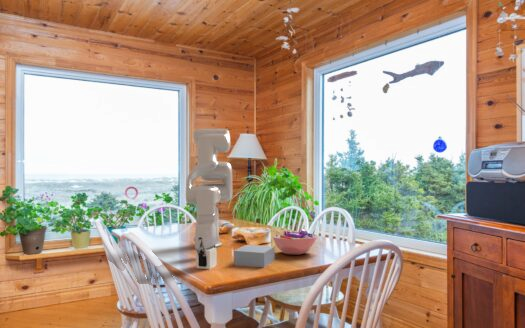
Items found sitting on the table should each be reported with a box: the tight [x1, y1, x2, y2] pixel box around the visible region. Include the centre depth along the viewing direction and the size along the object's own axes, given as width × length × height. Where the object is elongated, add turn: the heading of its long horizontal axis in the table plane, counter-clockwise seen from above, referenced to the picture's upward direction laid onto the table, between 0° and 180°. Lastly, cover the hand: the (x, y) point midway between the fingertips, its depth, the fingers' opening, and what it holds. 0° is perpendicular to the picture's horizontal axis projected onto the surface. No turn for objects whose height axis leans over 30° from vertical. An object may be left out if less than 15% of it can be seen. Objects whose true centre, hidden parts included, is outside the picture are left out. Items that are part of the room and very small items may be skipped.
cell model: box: [272, 228, 318, 256], centre depth 173 cm, size 17×20×11 cm
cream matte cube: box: [195, 247, 218, 270], centre depth 151 cm, size 6×6×7 cm
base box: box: [233, 244, 276, 268], centre depth 158 cm, size 13×13×6 cm
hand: (206, 263), depth 151 cm, fingers closed on cream matte cube, 6 cm apart
